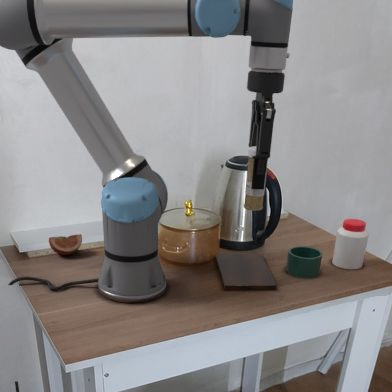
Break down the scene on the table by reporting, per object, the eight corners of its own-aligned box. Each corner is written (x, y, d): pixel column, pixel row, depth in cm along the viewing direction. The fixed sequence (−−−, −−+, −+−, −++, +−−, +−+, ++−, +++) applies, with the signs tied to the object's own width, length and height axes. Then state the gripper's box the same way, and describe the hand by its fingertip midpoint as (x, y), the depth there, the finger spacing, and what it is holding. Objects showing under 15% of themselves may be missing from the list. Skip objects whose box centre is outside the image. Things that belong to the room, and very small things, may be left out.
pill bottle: (360, 259, 146) (368, 218, 141) (364, 270, 140) (373, 228, 134) (330, 257, 147) (337, 216, 141) (333, 268, 140) (341, 226, 135)
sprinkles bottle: (241, 205, 129) (246, 145, 122) (260, 205, 130) (266, 145, 123) (246, 211, 126) (251, 149, 119) (265, 211, 126) (272, 150, 119)
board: (224, 290, 127) (225, 285, 126) (215, 257, 144) (215, 253, 143) (276, 290, 128) (276, 285, 127) (260, 257, 145) (261, 253, 144)
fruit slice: (79, 248, 146) (78, 229, 144) (86, 256, 141) (85, 238, 139) (47, 252, 143) (45, 233, 141) (54, 261, 138) (52, 242, 136)
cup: (290, 278, 134) (292, 258, 132) (283, 264, 141) (285, 246, 139) (323, 277, 135) (326, 258, 132) (314, 264, 142) (317, 246, 139)
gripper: (295, 75, 106) (280, 197, 118) (275, 67, 121) (264, 176, 133) (256, 73, 105) (245, 196, 117) (241, 66, 120) (233, 175, 132)
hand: (255, 185), depth 125 cm, fingers closed on sprinkles bottle, 5 cm apart
